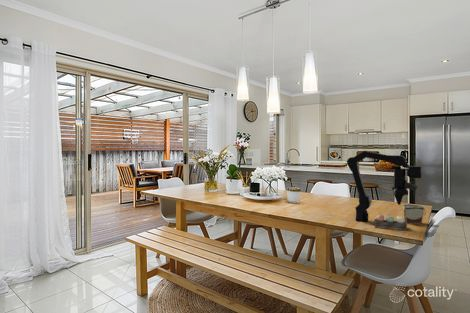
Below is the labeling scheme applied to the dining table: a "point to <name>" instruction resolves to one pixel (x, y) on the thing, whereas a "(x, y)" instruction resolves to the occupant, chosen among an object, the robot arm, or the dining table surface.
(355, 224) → the dining table surface
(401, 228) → the button panel
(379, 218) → the button terracotta
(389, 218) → the button sage
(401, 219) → the button cream
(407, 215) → the food container
